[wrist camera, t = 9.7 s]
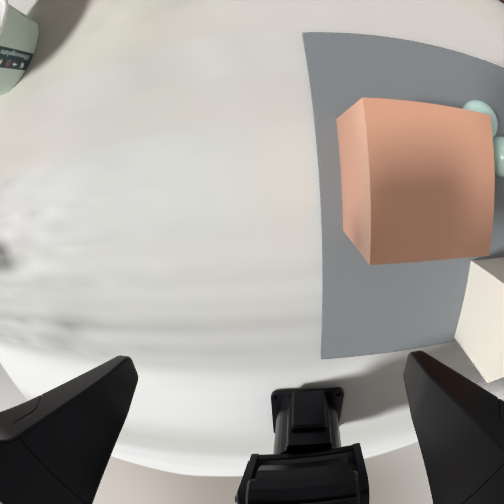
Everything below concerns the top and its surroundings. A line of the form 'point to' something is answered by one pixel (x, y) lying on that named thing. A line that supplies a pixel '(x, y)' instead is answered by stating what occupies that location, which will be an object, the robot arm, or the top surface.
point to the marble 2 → (499, 155)
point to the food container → (15, 45)
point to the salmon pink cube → (416, 180)
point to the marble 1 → (483, 108)
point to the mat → (333, 237)
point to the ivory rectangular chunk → (484, 318)
